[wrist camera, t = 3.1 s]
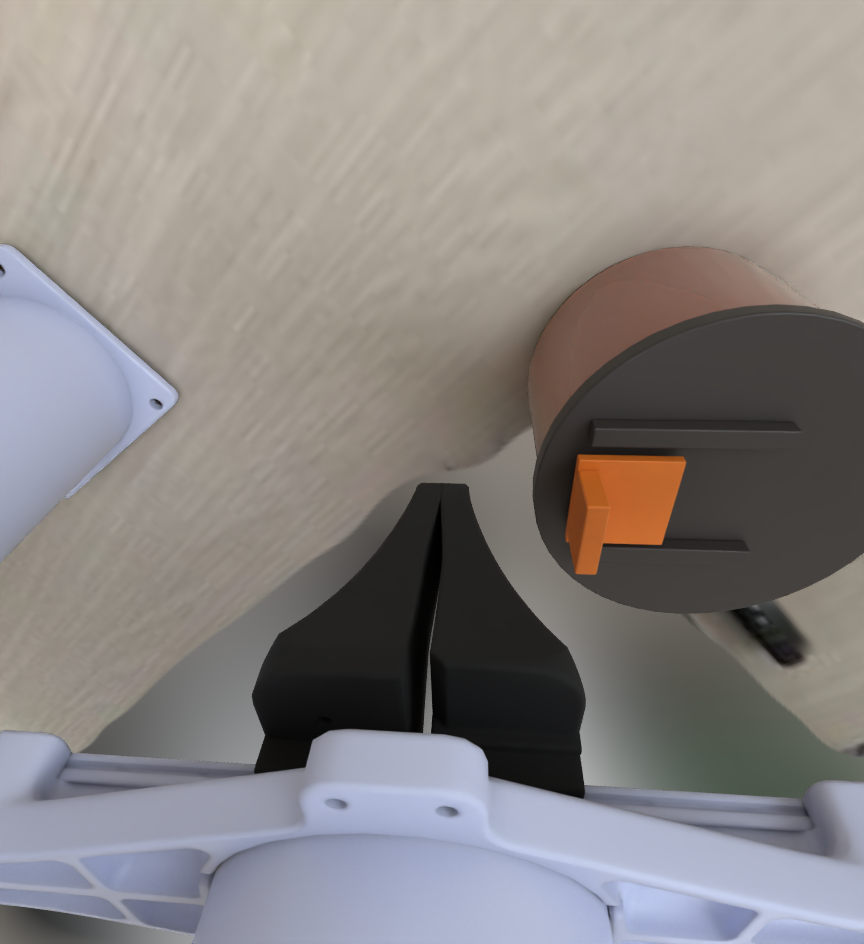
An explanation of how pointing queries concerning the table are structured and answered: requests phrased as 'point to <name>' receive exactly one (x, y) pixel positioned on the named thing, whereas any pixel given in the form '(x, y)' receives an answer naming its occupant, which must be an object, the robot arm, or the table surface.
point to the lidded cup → (706, 427)
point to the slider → (619, 503)
